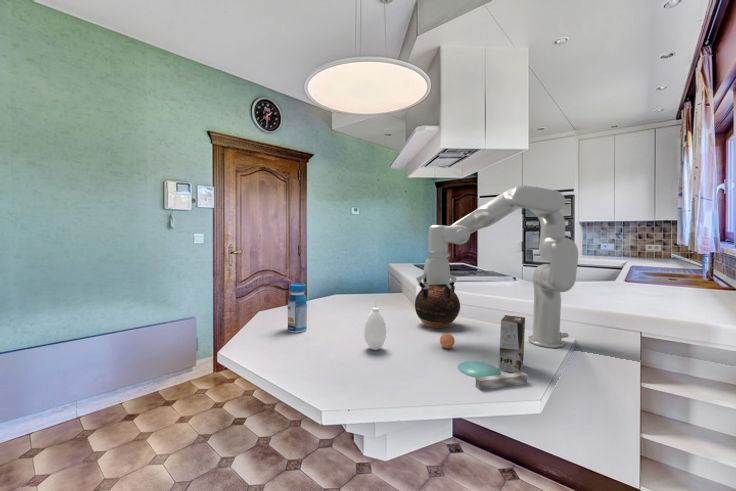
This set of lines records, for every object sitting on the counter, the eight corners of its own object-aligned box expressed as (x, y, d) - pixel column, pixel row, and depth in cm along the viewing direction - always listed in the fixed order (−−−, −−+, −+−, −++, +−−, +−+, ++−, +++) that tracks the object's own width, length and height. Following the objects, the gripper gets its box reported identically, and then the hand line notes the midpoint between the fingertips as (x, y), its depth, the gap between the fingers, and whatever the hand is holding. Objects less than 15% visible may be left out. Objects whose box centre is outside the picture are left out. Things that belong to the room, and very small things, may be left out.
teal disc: (483, 359, 114) (483, 359, 114) (509, 375, 101) (509, 375, 101) (450, 363, 110) (450, 362, 110) (472, 380, 98) (472, 379, 98)
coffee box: (520, 374, 103) (522, 323, 102) (498, 369, 106) (500, 319, 105) (524, 364, 110) (526, 317, 110) (503, 360, 114) (505, 314, 113)
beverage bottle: (304, 333, 140) (305, 286, 139) (284, 333, 140) (285, 285, 139) (308, 327, 148) (309, 283, 147) (289, 327, 148) (290, 282, 147)
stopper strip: (522, 380, 98) (522, 372, 98) (527, 383, 97) (527, 375, 96) (475, 386, 94) (475, 377, 94) (479, 389, 92) (480, 381, 92)
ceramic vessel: (418, 332, 144) (420, 263, 143) (410, 321, 162) (412, 260, 160) (465, 332, 146) (467, 264, 144) (453, 321, 163) (454, 260, 162)
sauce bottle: (389, 349, 122) (390, 301, 122) (375, 354, 117) (376, 304, 116) (374, 344, 128) (374, 297, 127) (359, 349, 122) (360, 300, 121)
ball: (449, 344, 128) (450, 330, 128) (457, 349, 123) (457, 335, 123) (436, 346, 127) (437, 331, 127) (444, 351, 122) (444, 336, 121)
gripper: (451, 255, 138) (450, 296, 139) (413, 255, 133) (412, 297, 134) (461, 257, 131) (460, 299, 132) (421, 256, 126) (420, 301, 127)
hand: (435, 298), depth 133 cm, fingers open, 9 cm apart
